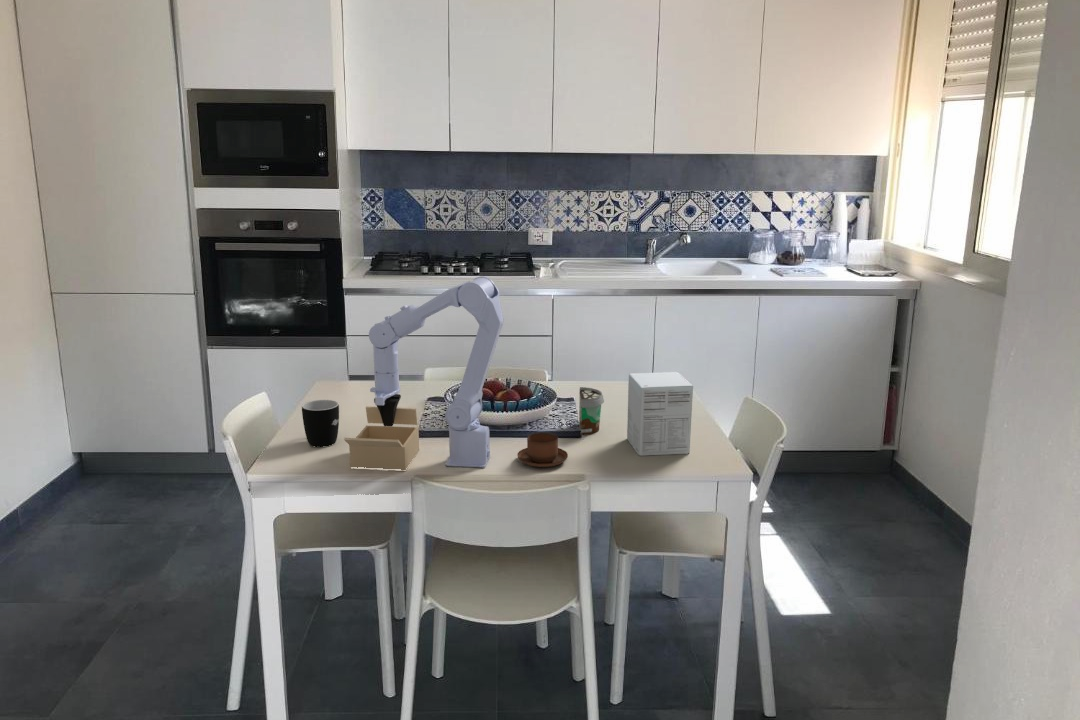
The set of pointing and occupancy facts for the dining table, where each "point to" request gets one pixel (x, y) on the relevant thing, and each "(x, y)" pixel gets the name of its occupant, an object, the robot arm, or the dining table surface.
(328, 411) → the mug
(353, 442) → the near flap
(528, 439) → the cup and saucer
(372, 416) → the far flap
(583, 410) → the food container
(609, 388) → the dining table surface
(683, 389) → the supplement box
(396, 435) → the carton
